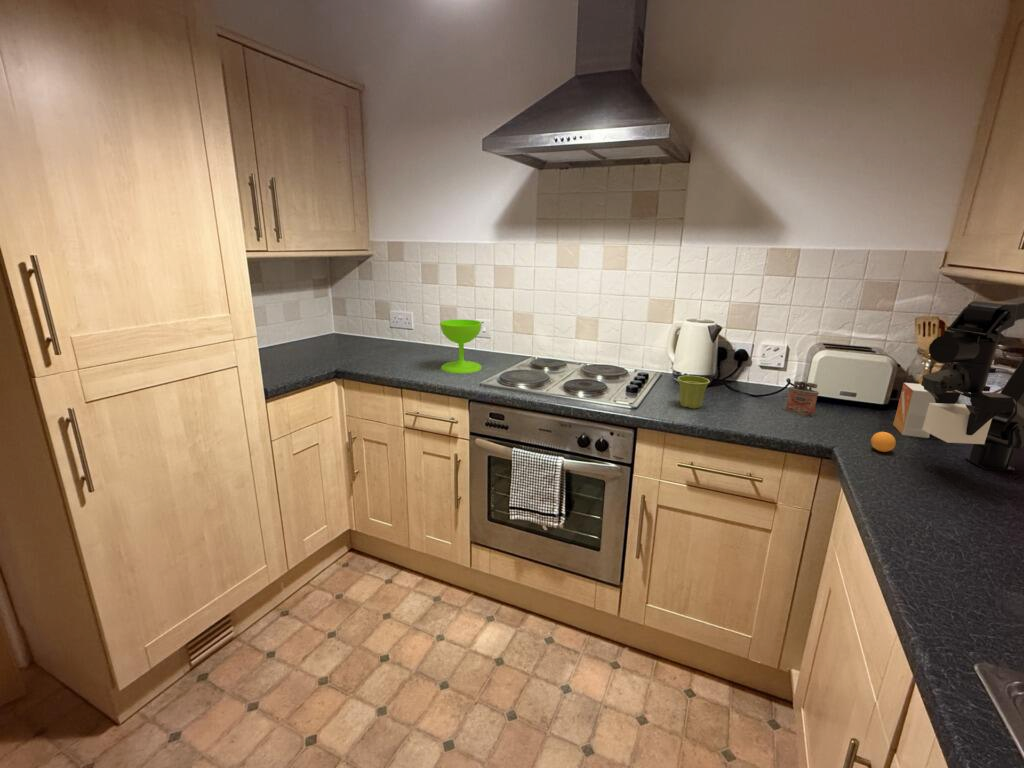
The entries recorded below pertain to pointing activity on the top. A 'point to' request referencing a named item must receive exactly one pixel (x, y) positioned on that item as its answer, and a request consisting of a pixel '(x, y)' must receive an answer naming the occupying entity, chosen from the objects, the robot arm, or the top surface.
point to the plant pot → (692, 390)
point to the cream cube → (952, 424)
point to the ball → (883, 441)
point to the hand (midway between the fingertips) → (954, 428)
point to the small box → (913, 410)
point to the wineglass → (461, 343)
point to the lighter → (802, 398)
